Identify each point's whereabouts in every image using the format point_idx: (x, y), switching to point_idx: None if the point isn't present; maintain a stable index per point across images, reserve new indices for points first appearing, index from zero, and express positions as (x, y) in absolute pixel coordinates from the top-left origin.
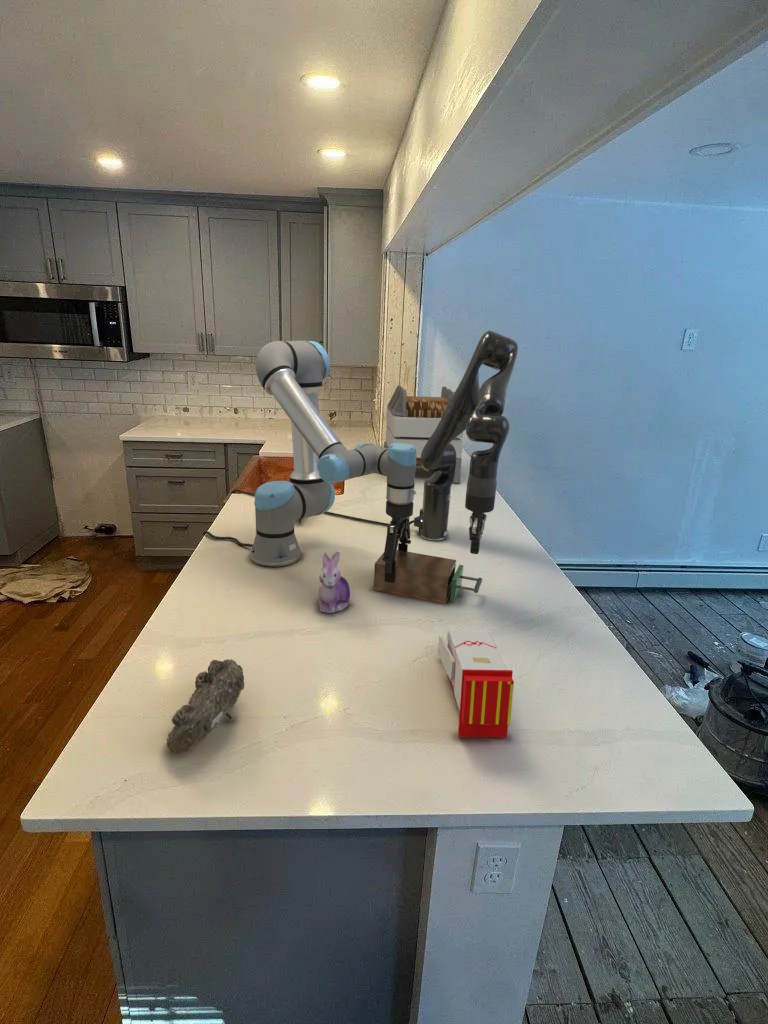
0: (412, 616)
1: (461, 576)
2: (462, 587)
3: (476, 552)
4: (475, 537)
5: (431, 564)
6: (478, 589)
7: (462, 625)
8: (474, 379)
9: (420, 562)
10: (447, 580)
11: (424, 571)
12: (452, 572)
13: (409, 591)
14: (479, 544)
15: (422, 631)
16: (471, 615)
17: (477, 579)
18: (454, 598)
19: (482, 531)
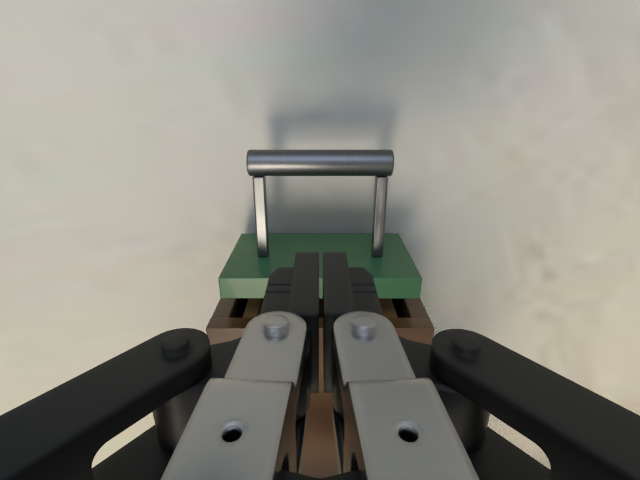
0: (525, 339)
1: (266, 256)
2: (383, 231)
3: (365, 269)
4: (479, 412)
5: (323, 418)
6: (381, 152)
7: (556, 167)
8: None
9: (322, 460)
10: (427, 315)
11: None
12: (259, 303)
13: None
14: (325, 289)
15: (621, 289)
16: (466, 146)
17: (260, 176)
18: (400, 239)
19: (445, 413)
